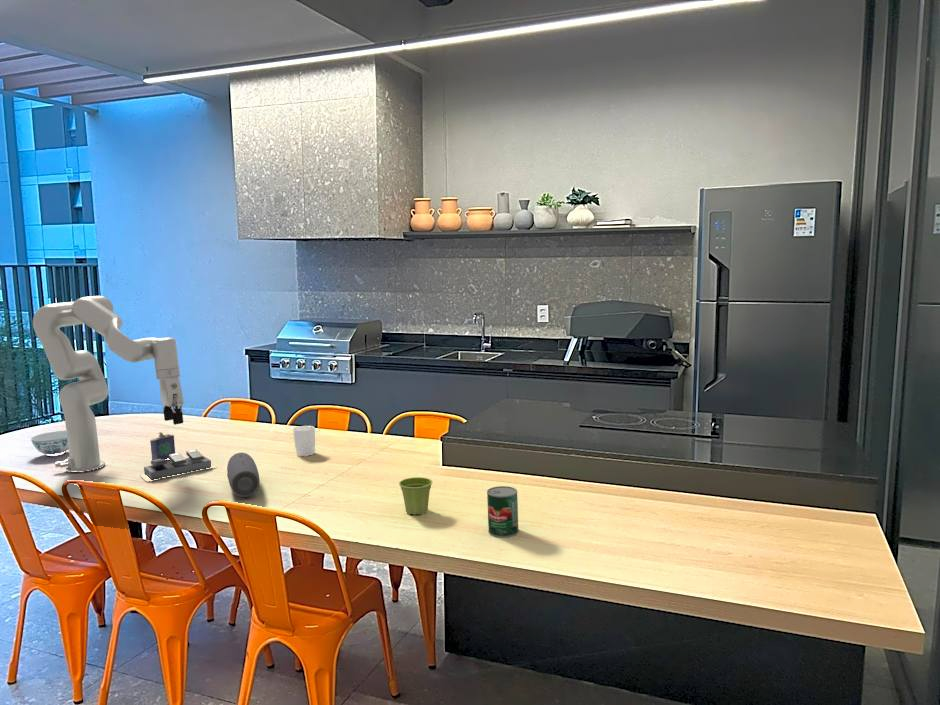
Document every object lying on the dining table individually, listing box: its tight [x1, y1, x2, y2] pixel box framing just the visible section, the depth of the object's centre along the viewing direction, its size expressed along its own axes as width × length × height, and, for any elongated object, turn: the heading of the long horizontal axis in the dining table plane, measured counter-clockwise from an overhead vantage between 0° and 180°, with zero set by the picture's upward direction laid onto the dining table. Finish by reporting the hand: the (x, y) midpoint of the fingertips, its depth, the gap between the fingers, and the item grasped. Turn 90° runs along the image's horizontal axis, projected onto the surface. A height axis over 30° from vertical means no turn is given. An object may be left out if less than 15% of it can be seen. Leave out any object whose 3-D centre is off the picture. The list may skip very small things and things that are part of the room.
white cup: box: [292, 425, 316, 457], centre depth 266 cm, size 8×8×10 cm
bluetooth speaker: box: [226, 452, 260, 498], centre depth 227 cm, size 23×9×10 cm, turn 21°
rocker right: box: [185, 449, 204, 461], centre depth 253 cm, size 4×7×1 cm, turn 39°
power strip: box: [143, 455, 212, 480], centre depth 249 cm, size 23×10×3 cm, turn 129°
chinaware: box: [30, 430, 69, 455], centre depth 278 cm, size 15×15×8 cm
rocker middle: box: [169, 452, 186, 465], centre depth 249 cm, size 4×7×1 cm, turn 39°
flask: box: [149, 431, 176, 461], centre depth 264 cm, size 9×3×11 cm, turn 146°
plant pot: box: [398, 476, 433, 516], centre depth 202 cm, size 9×9×9 cm
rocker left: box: [150, 459, 169, 466], centre depth 245 cm, size 4×7×1 cm, turn 39°
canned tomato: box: [486, 485, 520, 538], centre depth 185 cm, size 8×8×11 cm
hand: (174, 421), depth 249 cm, fingers open, 9 cm apart
